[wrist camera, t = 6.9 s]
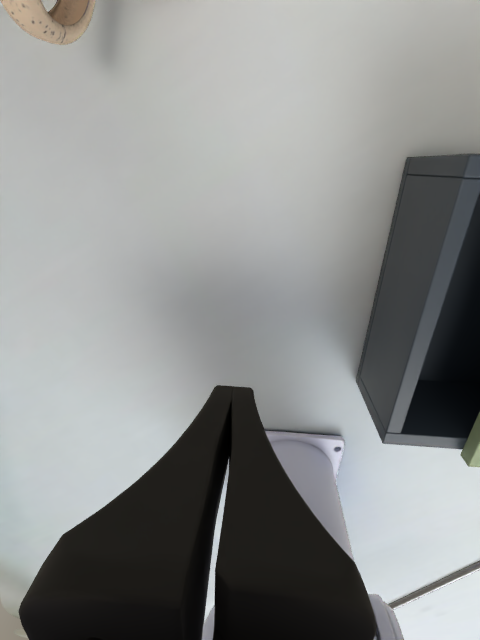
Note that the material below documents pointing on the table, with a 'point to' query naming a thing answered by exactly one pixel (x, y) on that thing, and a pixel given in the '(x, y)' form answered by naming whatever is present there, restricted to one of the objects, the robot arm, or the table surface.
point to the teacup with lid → (52, 18)
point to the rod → (436, 585)
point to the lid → (473, 446)
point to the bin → (428, 309)
